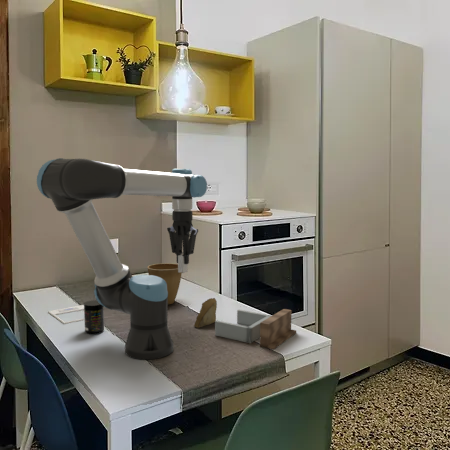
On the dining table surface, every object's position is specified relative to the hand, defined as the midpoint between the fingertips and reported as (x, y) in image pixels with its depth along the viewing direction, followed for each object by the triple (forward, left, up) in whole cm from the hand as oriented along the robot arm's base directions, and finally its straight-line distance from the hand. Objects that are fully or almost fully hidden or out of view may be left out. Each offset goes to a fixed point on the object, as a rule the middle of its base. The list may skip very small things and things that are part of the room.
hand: (182, 272), depth 179 cm
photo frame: (-19, +40, -19) cm, 48 cm away
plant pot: (+14, +20, -19) cm, 31 cm away
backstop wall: (0, -40, -18) cm, 44 cm away
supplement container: (-28, +18, -19) cm, 38 cm away
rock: (0, -10, -19) cm, 21 cm away
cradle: (0, -27, -18) cm, 33 cm away
